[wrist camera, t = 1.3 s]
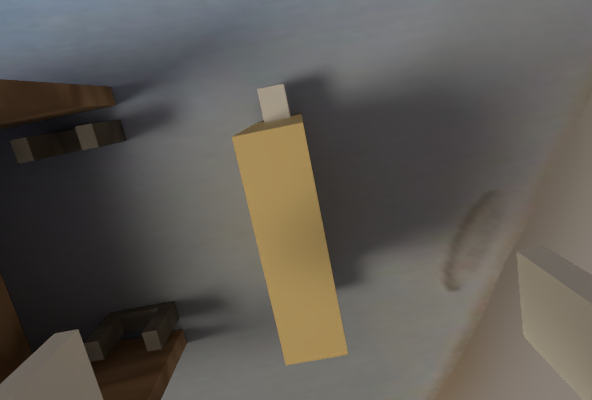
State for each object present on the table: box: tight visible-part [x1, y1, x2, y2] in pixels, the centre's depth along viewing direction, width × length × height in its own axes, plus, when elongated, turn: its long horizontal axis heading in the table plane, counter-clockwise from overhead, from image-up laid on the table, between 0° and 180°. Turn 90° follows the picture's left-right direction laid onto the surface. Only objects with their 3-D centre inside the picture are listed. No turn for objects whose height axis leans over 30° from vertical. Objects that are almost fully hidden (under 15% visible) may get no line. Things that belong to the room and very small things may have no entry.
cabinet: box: [0, 79, 187, 400], centre depth 24 cm, size 19×13×12 cm
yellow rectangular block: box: [232, 84, 348, 365], centre depth 24 cm, size 15×3×11 cm, turn 11°
